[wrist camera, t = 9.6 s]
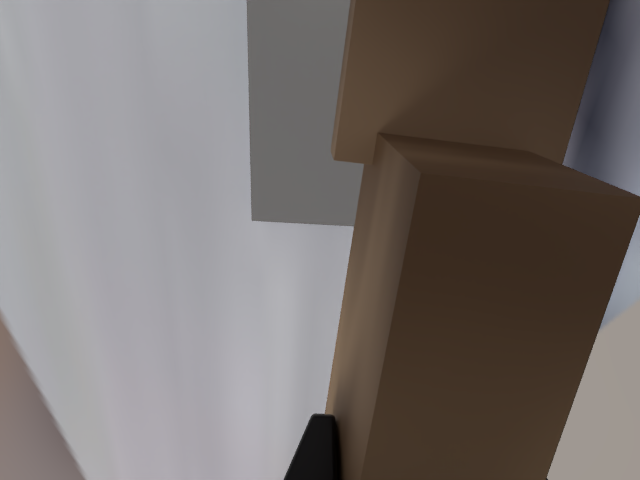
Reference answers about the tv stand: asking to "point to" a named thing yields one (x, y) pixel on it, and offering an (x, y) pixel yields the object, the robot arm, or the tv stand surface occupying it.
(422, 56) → the brown wooden bar
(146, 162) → the tv stand surface
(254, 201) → the mat
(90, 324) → the tv stand surface
